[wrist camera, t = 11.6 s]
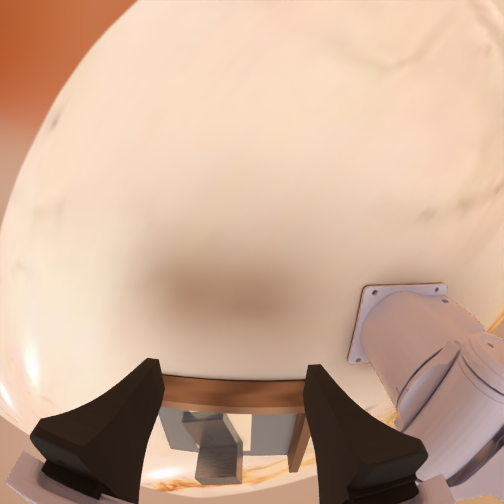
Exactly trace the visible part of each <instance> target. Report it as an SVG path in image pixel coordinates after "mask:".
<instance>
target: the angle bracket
mask: <svg viewBox="0 0 504 504" xmlns="http://www.w3.org/2000/svg"><path fill="white" fill-rule="evenodd" d="M181 423H182V424H183V426H184V427H185V429H186V430H187V431H188V433H189V434H190V435H191V437H192V438H193V439H194V441H195V442H196V443H197V444H198V446H199V447H200V448H199V454H198V460H197V467H196V473H195V479H196V480H197V481H199V482H200V483H201V484H202V485H225V484H242V462H243V442H242V440H241V439H240V437H239V435H238V434H237V432H236V430H235V428H234V427H233V425H232V423H231V421H230V419H229V418H228V416H227V414H226V413H211V412H187V413H184V414H183V418H182V422H181Z"/></svg>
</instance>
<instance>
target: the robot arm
mask: <svg viewBox="0 0 504 504" xmlns="http://www.w3.org/2000/svg"><path fill="white" fill-rule="evenodd" d="M435 289H436V290H435ZM374 290H376V292H375V293H374V294H372V292H373V291H374ZM446 291H447V285H446V284H444V283H438V284H415V285H382V286H367V287H365V288H364V290H363V293H362V299H361V304H360V309H359V314H358V318H357V323H356V327H355V332H354V336H353V340H352V344H351V348H350V352H349V356H348V362H349V364H361V363H370V362H371V364H372V366H373V368H374V369H375V371H376V373H377V375H378V377H379V378H380V380H381V382H382V384H383V386H384V388H385V389H386V391H387V393H388V395H389V397H390V399H391V401H392V402H393V404H394V406H395V408H396V410H397V412H398V416H397V418H396V420H395V421H394V423H395V426H396V428H397V430H398V431H397V430H395V429H393V428H391V427H389V426H387V425H386V424H384V423H382V422H381V421H379V420H377V419H376V418H374V417H373V416H371V415H370V414H369V413H367V412H366V411H365V410H363V409H362V408H361V407H360V406H359V405H357V404H356V403H355V402H354V401H353V400H352V399H351V398H350V397H349V396H348V395H347V394H346V393H345V392H344V391H343V390H342V389H341V388H340V387H339V386H338V384H337V383H336V382H335V381H334V380H333V379H332V377H331V376H330V375H329V374H328V373H327V371H326V370H325V369H324V368H323V366H322V365H321V364H318V365H308V369H307V374H306V380H305V385H304V390H303V401H304V409H305V414H306V418H307V422H308V426H309V430H310V433H311V437H312V441H313V445H314V450H315V456H316V464H317V473H318V483H319V498H320V499H319V500H320V504H456V502H455V501H460V500H466V499H471V498H476V497H480V496H485V495H493V496H495V497H496V498H498V499H499V500H500V501H502V502H504V339H502V338H500V337H499V336H496V335H494V334H491V333H488V332H485V329H484V328H483V326H482V324H481V323H480V322H479V321H478V320H477V319H476V318H475V317H473V316H472V315H471V314H470V313H468V312H467V311H466V310H465V309H463V308H462V307H461V306H459V305H458V304H457V303H456V302H454V301H453V300H452V299H450V298H449V297H448V296H446ZM358 358H359V359H358ZM356 359H358V360H356ZM164 391H165V386H164V381H163V377H162V373H161V368H160V363H159V359H152V358H147V359H146V360H144V361H143V362H142V363H141V364H140V365H139V366H138V367H136V368H135V369H134V370H133V371H132V372H131V373H130V374H129V375H127V376H126V377H125V378H124V379H123V380H121V381H120V382H119V383H118V384H116V385H115V386H114V387H112V388H111V389H110V390H108V391H107V392H106V393H104V394H103V395H101V396H99V397H98V398H96V399H94V400H93V401H91V402H89V403H87V404H85V405H82V406H80V407H78V408H76V409H74V410H71V411H68V412H65V413H62V414H59V415H55V416H51V417H47V418H42V419H40V421H39V422H38V424H37V425H36V427H35V428H34V430H33V431H32V433H31V434H30V439H31V441H32V443H33V444H34V446H35V447H36V448H37V449H38V450H39V451H40V453H41V454H42V455H43V456H44V457H45V458H46V462H45V464H44V463H43V462H42V461H40V460H39V459H37V458H35V457H34V456H32V455H30V454H29V453H27V452H25V451H23V452H22V454H21V456H20V457H19V459H18V461H17V462H16V464H15V466H14V468H13V469H12V471H11V473H10V475H9V477H8V478H7V480H6V484H7V485H8V486H10V487H11V488H12V489H13V490H14V491H15V492H17V493H18V494H19V495H20V496H22V497H23V498H24V499H26V500H27V501H28V502H30V503H31V504H138V501H139V489H140V481H141V473H142V467H143V462H144V457H145V452H146V447H147V443H148V440H149V437H150V434H151V432H152V429H153V426H154V424H155V421H156V418H157V416H158V413H159V410H160V408H161V405H162V401H163V396H164Z"/></svg>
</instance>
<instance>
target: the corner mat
mask: <svg viewBox="0 0 504 504" xmlns="http://www.w3.org/2000/svg"><path fill="white" fill-rule="evenodd" d="M169 378H170V377H169ZM176 379H177V378H176ZM182 380H183V379H182ZM201 380H202V379H201ZM206 382H207V381H206ZM283 382H284V383H285V381H283ZM295 382H296V381H295ZM297 382H298V381H297ZM245 383H247V381H246V382H245ZM248 383H249V382H248ZM267 383H269V382H267ZM270 383H271V382H270ZM273 383H274V382H273ZM273 383H272V384H273ZM275 383H276V382H275ZM277 383H278V382H277ZM279 383H280V382H279ZM236 384H237V383H236ZM260 384H261V383H260ZM289 384H290V382H289ZM187 412H199V411H189V410H181V409H173V408H166V407H161V408H160V410H159V413H158V414H159V417H160V420H161V423H162V426H163V428H164V431H165V434H166V437H167V440H168V442H169V445H170V448H171V449H176V450H183V451H191V452H199V448H200V447H199V446H198V444H197V443H196V442H195V441H194V439H193V438H192V437H191V435H190V434H189V433H188V431H187V430H186V429H185V427H184V426H183V424H182V423H181V422H182V418H183V414H184V413H187ZM227 416H228V418H229V419H230V421H231V423H232V425H233V427H234V428H235V430H236V432H237V434H238V435H239V437H240V439H241V440H242V442H243V455H251V456H263V455H287V454H288V450H289V446H290V442H291V438H292V434H293V430H294V426H295V421H296V417H297V413H294V414H227Z"/></svg>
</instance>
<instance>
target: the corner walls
mask: <svg viewBox="0 0 504 504" xmlns="http://www.w3.org/2000/svg"><path fill="white" fill-rule="evenodd" d="M162 377H163V381H164V386H165V391H164V396H163V401H162V405H161V407H166V408H173V409H181V410H189V411H199V412H211V413H226V414H294V413H297V417H296V421H295V426H294V430H293V434H292V438H291V442H290V446H289V450H288V454H287V456H288V465H289V473H292V472H298V469H299V467H300V464H301V461H302V458H303V456H304V453H305V450H306V447H307V444H308V441H309V438H310V435H311V433H310V430H309V426H308V422H307V418H306V414H305V409H304V401H303V390H304V385H305V381H298V382H297V381H296V382H295V381H285V383H284V382H283V381H282V382H280V383H279V382H278V383H277V382H276V383H275V382H274V383H273V382H271V383H270V382H269V383H267V382H249V383H248V382H247V383H245V382H246V381H220V380H205V379H202V380H201V379H193V378H182V377H173V376H165V375H162ZM169 377H170V378H169ZM176 378H177V379H176ZM182 379H183V380H182ZM206 381H207V382H206ZM289 382H290V384H289ZM236 383H237V384H236ZM260 383H261V384H260ZM272 383H273V384H272Z"/></svg>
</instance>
